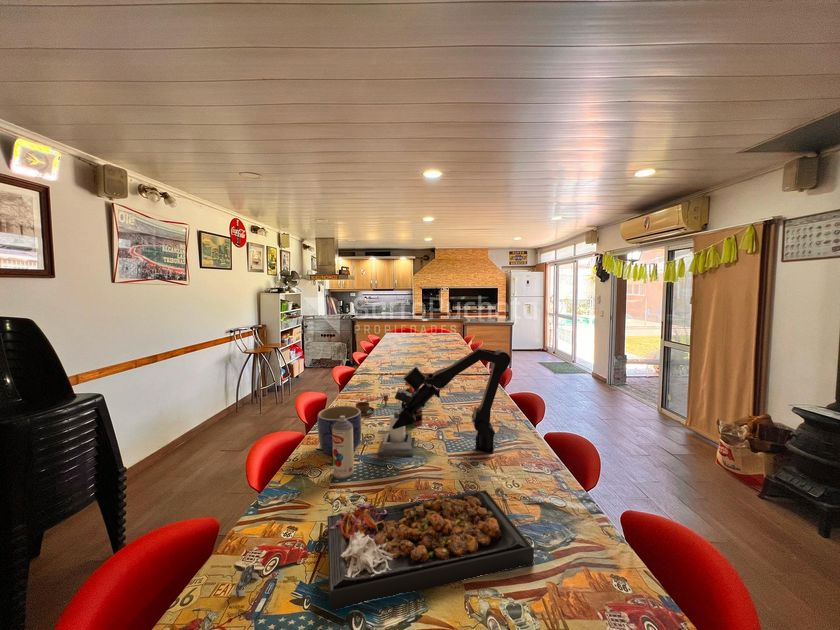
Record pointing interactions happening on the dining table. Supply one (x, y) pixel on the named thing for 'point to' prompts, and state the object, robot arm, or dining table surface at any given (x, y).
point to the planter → (331, 417)
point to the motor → (419, 415)
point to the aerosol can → (343, 449)
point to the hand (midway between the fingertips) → (393, 424)
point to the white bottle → (396, 430)
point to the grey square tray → (397, 446)
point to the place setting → (365, 407)
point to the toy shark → (245, 580)
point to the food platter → (419, 546)
